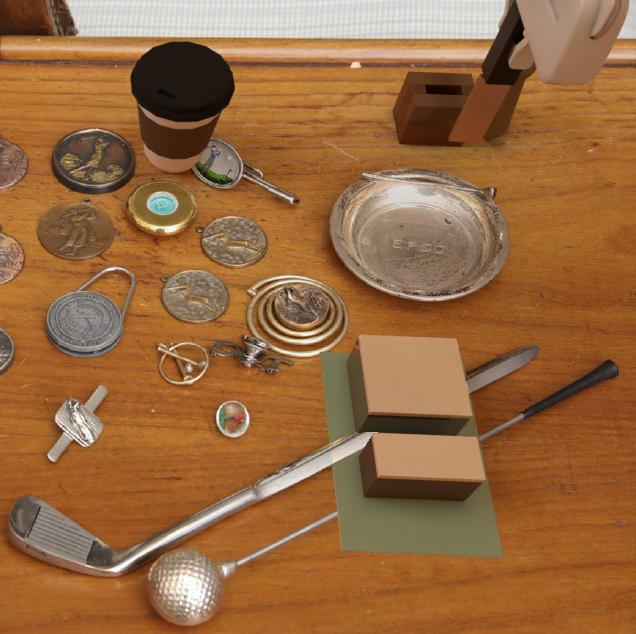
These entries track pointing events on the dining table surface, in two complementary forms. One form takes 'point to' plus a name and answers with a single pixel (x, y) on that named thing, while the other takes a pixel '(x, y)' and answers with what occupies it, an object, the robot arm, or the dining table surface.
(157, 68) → the coffee cup
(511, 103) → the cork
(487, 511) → the green board with blocks
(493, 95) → the knife
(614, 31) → the robot arm
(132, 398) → the dining table surface
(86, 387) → the dining table surface
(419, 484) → the tan rectangular block
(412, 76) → the knife block
